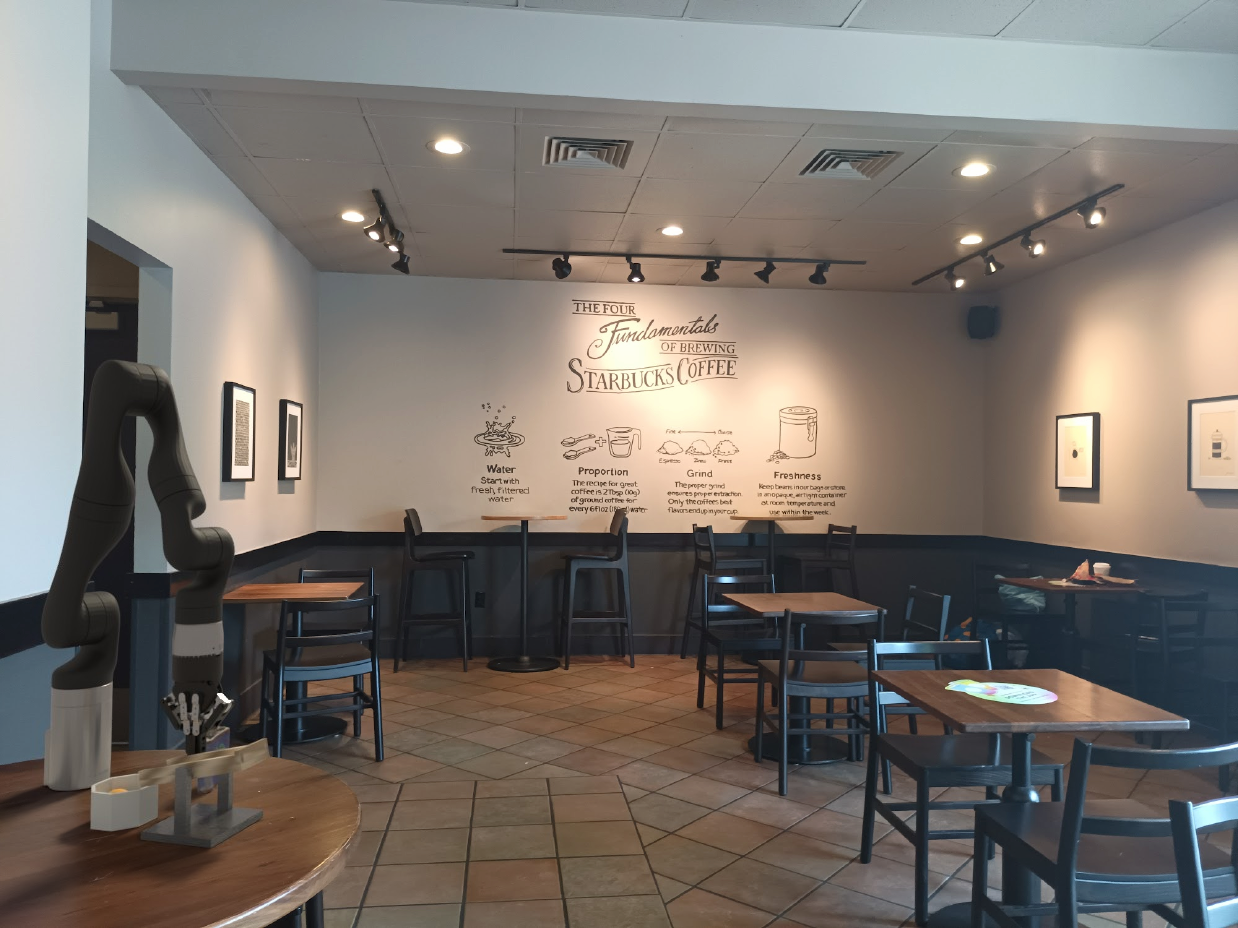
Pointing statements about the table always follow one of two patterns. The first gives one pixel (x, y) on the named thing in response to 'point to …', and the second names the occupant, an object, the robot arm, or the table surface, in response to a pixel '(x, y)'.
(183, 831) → the lever stand
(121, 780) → the cup
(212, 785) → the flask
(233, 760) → the lever
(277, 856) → the table surface
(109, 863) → the table surface
